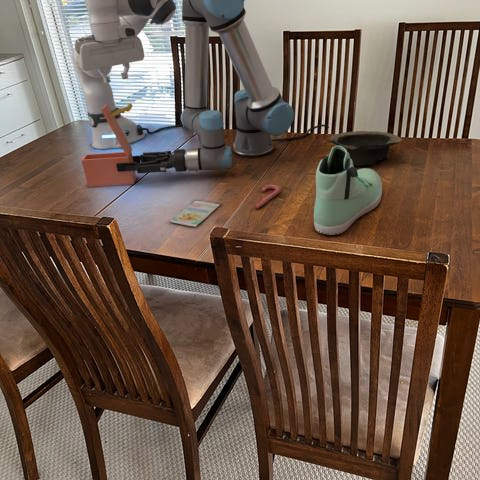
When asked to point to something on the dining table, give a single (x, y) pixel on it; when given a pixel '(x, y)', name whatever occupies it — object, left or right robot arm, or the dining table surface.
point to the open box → (107, 169)
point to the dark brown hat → (366, 145)
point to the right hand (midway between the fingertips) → (119, 164)
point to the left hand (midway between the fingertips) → (116, 80)
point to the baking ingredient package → (194, 213)
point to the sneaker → (343, 192)
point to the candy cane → (262, 202)
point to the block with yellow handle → (117, 126)
